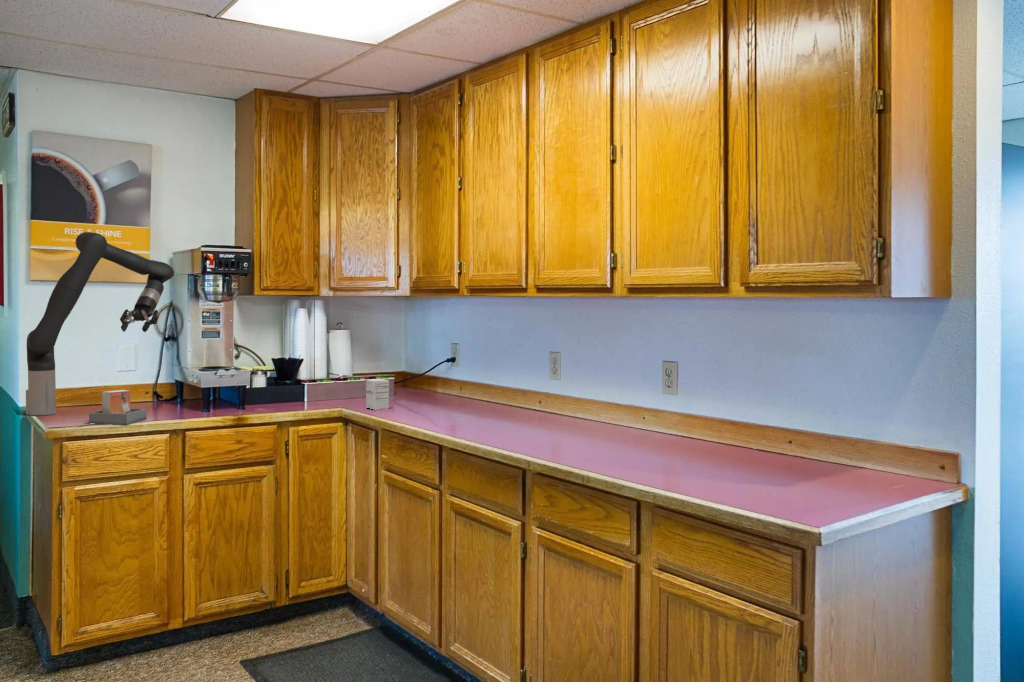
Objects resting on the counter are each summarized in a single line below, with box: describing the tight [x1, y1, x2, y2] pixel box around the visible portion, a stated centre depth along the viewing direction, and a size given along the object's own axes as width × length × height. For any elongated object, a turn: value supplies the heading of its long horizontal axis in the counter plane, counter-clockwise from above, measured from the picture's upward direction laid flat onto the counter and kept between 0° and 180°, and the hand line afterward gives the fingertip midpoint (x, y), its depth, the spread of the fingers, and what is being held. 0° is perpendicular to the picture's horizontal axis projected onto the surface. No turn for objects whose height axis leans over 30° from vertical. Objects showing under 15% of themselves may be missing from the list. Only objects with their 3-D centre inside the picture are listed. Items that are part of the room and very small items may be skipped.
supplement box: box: [365, 378, 390, 410], centre depth 340 cm, size 7×7×13 cm
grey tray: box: [88, 407, 148, 426], centre depth 298 cm, size 14×14×4 cm
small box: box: [101, 389, 131, 414], centre depth 297 cm, size 8×6×10 cm
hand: (133, 330), depth 322 cm, fingers open, 8 cm apart
